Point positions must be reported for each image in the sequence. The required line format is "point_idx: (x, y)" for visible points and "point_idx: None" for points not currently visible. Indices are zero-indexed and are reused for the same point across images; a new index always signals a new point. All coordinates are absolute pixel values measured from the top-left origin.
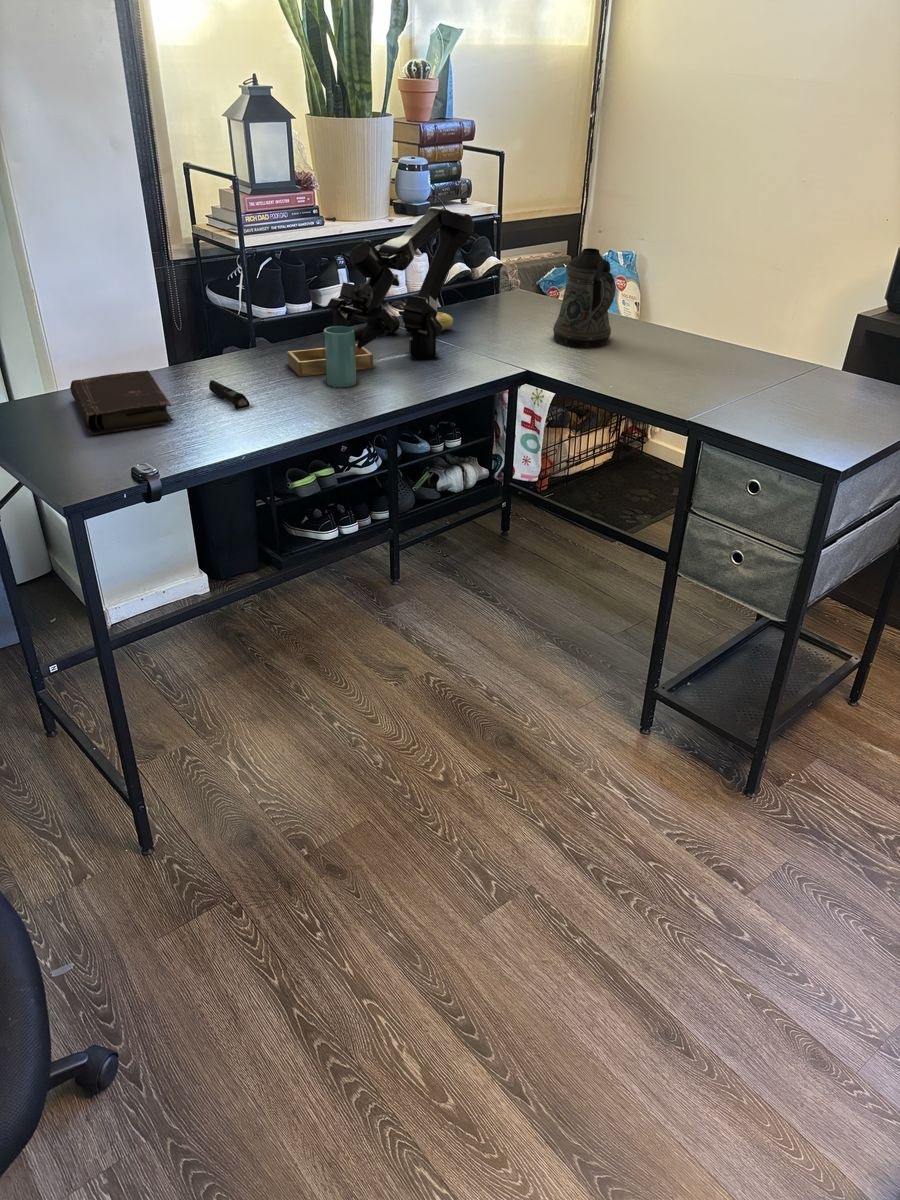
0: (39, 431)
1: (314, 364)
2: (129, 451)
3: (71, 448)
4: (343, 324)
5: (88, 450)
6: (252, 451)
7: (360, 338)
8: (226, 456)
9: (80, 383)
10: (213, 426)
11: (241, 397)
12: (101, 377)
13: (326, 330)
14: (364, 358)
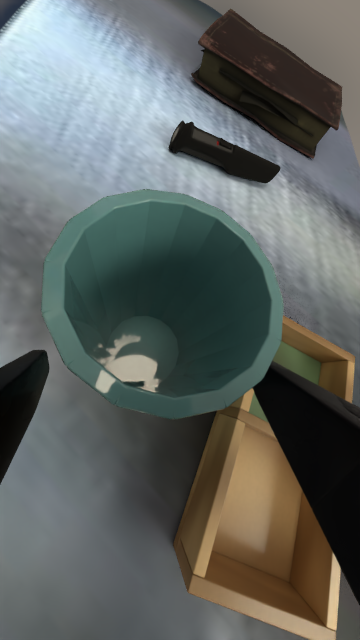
0: None
1: None
2: (154, 22)
3: (203, 27)
4: (337, 499)
5: (187, 24)
6: (14, 24)
7: (9, 377)
8: (38, 11)
9: (329, 81)
10: (145, 86)
11: (180, 126)
12: (338, 99)
13: (244, 253)
14: (198, 530)
